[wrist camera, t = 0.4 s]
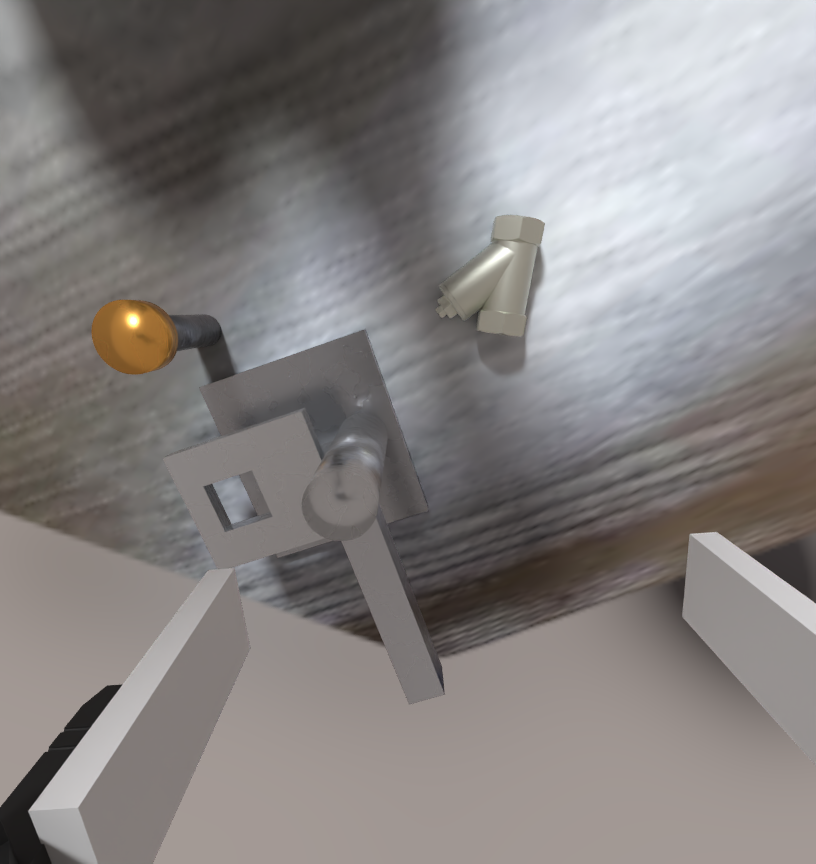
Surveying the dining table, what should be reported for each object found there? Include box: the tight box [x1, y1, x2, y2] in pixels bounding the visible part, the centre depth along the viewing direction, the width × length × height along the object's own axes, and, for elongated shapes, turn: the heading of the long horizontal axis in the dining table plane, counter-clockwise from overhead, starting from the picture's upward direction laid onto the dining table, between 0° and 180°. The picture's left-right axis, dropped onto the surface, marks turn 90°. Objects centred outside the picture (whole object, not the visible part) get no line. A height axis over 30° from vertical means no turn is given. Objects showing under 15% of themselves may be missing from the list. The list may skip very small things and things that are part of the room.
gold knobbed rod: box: [92, 300, 221, 374], centre depth 32 cm, size 4×4×10 cm
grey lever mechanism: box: [163, 330, 445, 704], centre depth 33 cm, size 23×15×15 cm, turn 19°
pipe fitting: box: [435, 215, 545, 337], centre depth 34 cm, size 8×4×7 cm
